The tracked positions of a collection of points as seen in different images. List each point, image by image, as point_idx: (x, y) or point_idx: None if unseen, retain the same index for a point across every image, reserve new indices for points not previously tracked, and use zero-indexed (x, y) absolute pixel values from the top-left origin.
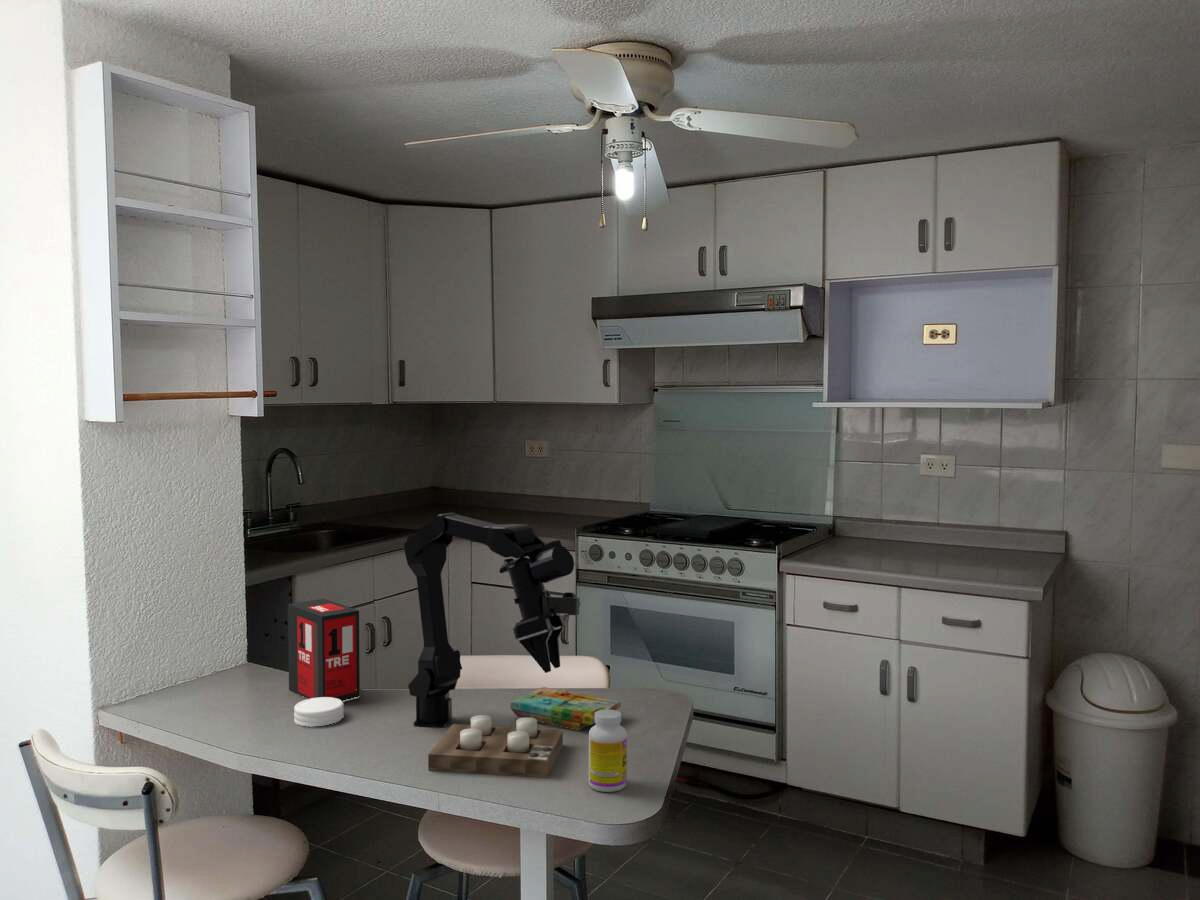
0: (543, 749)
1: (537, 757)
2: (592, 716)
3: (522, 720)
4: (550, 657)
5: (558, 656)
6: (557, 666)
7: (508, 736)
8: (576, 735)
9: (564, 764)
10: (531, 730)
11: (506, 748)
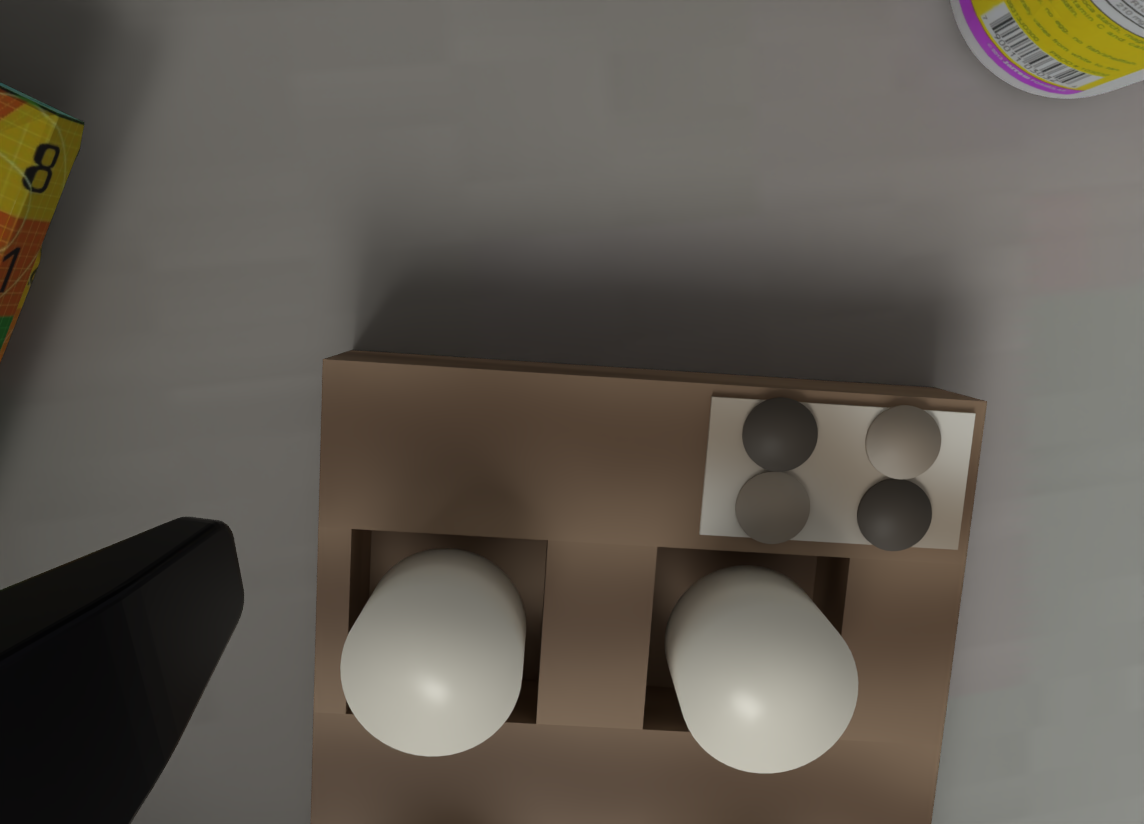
0: (792, 458)
1: (939, 482)
2: (19, 120)
3: (424, 708)
4: (93, 817)
5: (69, 632)
6: (227, 568)
7: (812, 759)
8: (145, 268)
9: (709, 300)
10: (509, 601)
11: None
